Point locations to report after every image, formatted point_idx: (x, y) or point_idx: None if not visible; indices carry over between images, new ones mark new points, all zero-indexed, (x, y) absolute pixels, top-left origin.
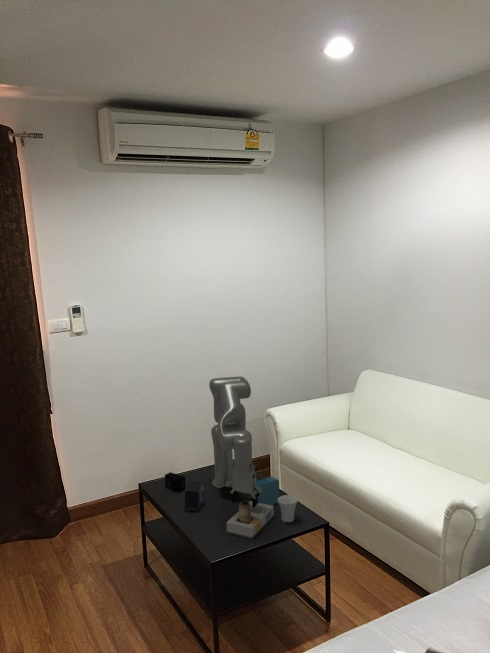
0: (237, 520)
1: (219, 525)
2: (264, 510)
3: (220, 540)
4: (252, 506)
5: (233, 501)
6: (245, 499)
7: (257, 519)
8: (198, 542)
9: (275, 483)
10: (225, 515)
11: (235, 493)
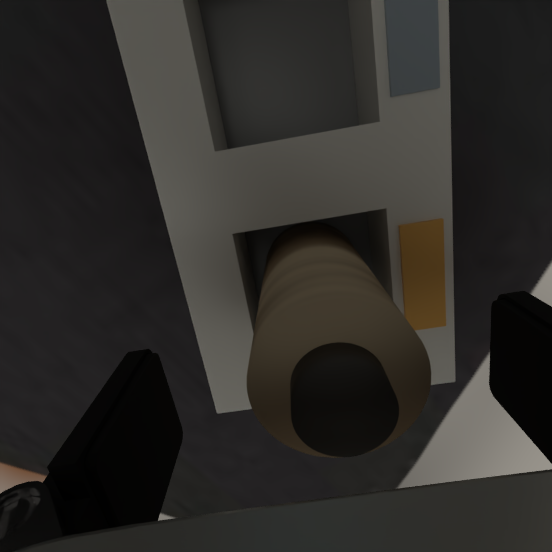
0: (252, 316)
1: (112, 310)
2: (400, 17)
3: (251, 433)
4: (501, 400)
5: (174, 452)
6: (329, 371)
7: (431, 243)
8: (166, 500)
9: None
10: (24, 166)
11: (119, 501)
